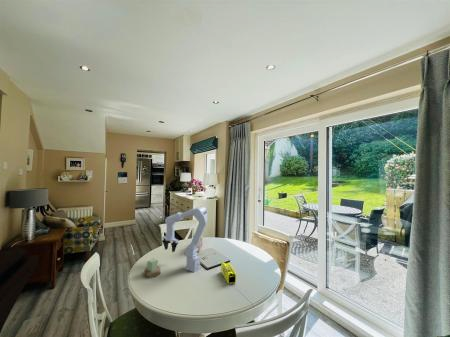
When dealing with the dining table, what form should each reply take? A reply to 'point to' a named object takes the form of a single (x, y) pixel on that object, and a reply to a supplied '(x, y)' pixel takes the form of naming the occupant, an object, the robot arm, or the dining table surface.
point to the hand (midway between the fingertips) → (169, 250)
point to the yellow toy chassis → (228, 272)
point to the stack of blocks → (200, 244)
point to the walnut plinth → (153, 273)
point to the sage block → (152, 264)
